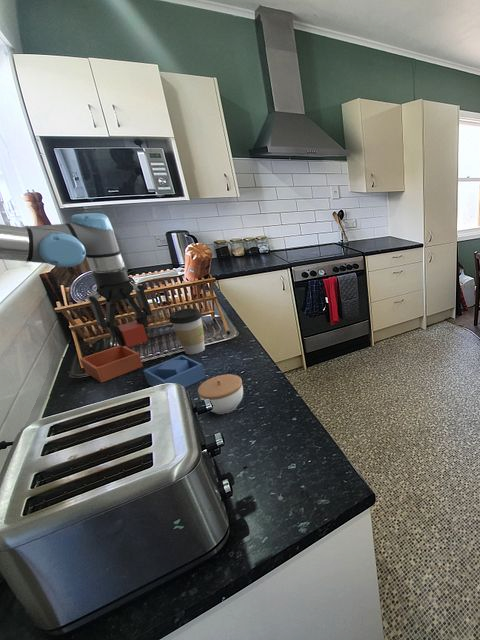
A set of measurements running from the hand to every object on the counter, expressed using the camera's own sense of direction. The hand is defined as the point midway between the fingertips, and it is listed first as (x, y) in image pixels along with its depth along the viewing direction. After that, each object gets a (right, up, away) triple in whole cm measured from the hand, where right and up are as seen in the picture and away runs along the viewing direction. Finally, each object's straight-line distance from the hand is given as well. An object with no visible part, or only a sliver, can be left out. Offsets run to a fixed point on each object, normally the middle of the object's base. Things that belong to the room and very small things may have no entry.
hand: (133, 340), depth 109 cm
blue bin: (+13, -13, +1) cm, 18 cm away
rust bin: (-11, -10, +6) cm, 16 cm away
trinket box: (+35, -19, -10) cm, 41 cm away
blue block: (+13, -12, +1) cm, 18 cm away
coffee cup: (+7, -5, +19) cm, 21 cm away
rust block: (0, 0, 0) cm, 0 cm away
